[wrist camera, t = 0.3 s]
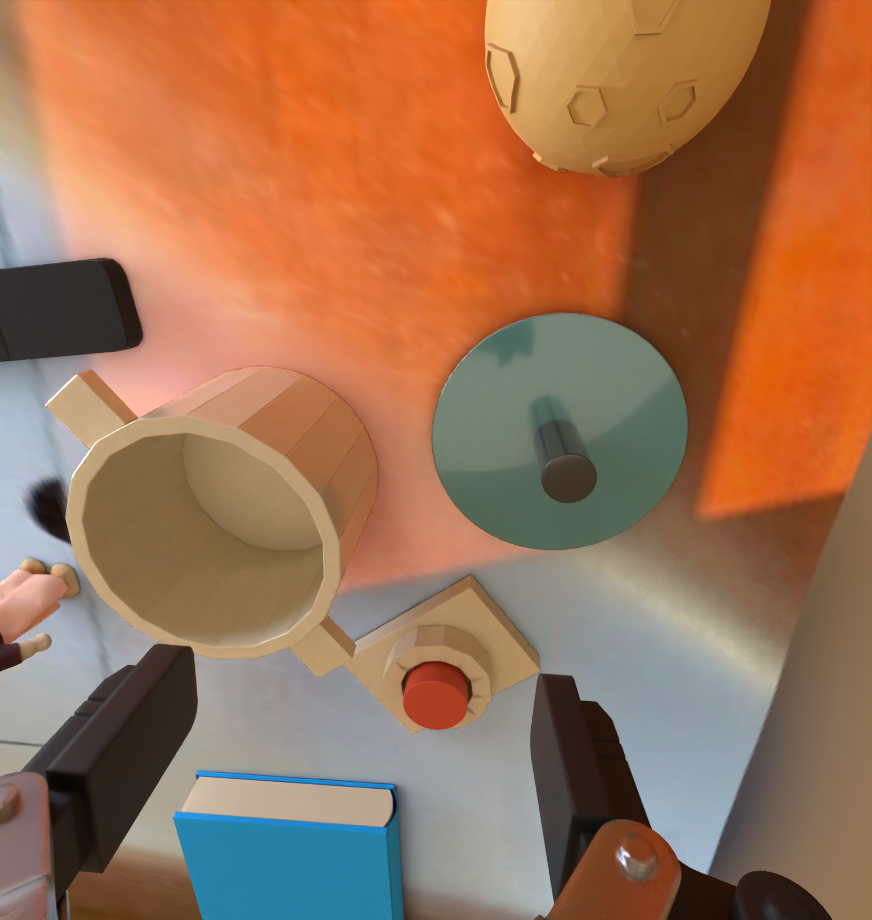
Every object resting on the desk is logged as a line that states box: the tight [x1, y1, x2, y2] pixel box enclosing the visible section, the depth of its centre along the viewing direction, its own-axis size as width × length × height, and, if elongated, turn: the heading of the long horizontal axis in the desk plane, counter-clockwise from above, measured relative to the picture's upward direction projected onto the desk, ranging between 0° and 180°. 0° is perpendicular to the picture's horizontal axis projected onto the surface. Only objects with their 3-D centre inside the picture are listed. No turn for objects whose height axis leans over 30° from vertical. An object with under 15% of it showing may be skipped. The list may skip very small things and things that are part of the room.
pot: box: [45, 366, 378, 678], centre depth 30 cm, size 13×18×10 cm
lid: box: [432, 312, 688, 550], centre depth 29 cm, size 14×14×6 cm
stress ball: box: [485, 0, 771, 178], centre depth 20 cm, size 10×10×10 cm
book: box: [173, 771, 404, 920], centre depth 47 cm, size 17×4×25 cm
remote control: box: [0, 258, 142, 362], centre depth 31 cm, size 5×2×15 cm
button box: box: [343, 575, 541, 735], centre depth 37 cm, size 11×8×4 cm
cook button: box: [403, 661, 468, 730], centre depth 35 cm, size 4×4×2 cm
